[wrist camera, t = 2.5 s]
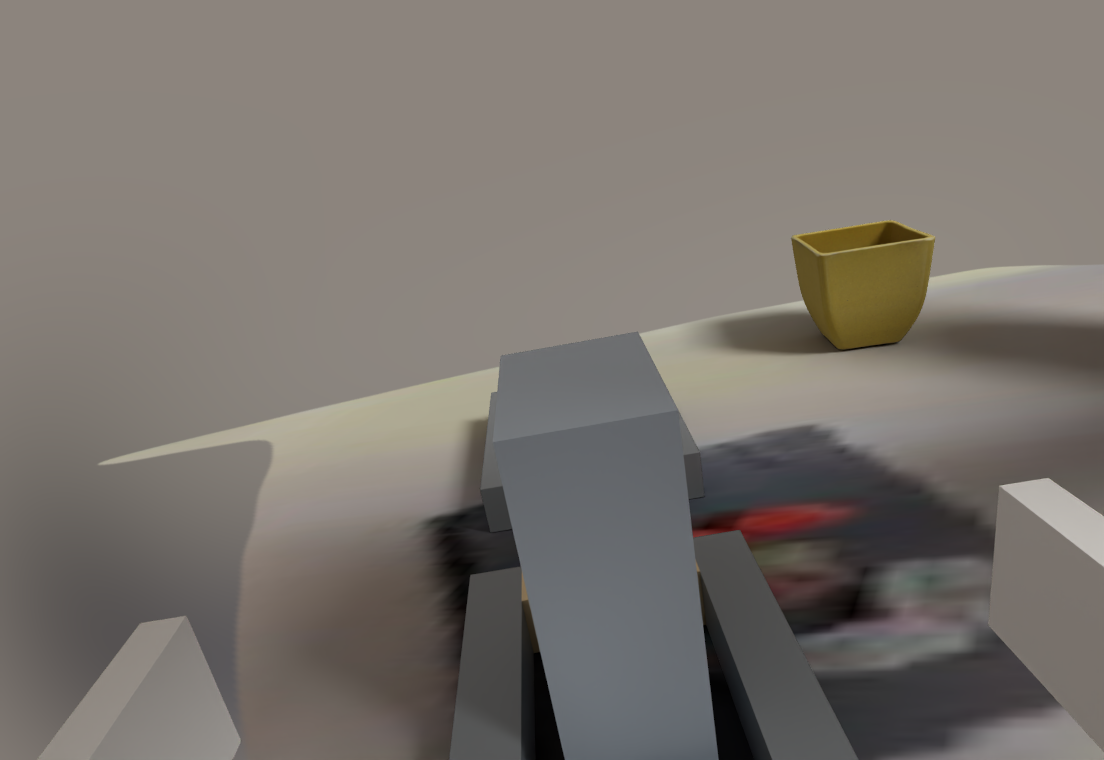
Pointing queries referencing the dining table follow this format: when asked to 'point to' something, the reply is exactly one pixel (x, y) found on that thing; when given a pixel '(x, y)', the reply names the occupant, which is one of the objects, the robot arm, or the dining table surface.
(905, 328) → the flower pot
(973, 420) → the dining table surface
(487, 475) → the socket
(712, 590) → the socket
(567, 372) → the plug
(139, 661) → the robot arm
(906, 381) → the dining table surface
